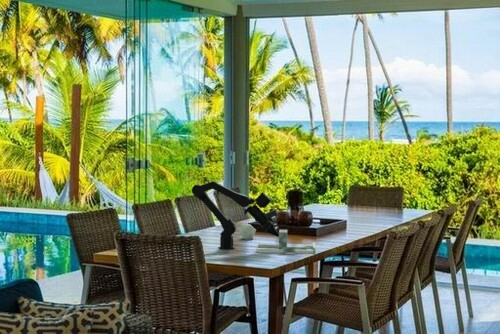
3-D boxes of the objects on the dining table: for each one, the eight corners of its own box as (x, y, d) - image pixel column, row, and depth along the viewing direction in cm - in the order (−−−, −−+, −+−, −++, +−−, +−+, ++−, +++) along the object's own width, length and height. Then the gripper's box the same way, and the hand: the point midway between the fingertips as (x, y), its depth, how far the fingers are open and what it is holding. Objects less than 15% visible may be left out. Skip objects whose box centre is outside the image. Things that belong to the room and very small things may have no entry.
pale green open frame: (255, 252, 446) (256, 246, 446) (258, 246, 464) (258, 241, 464) (315, 253, 444) (315, 247, 444) (315, 248, 462) (315, 242, 462)
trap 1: (282, 254, 439) (282, 254, 439) (283, 252, 445) (283, 252, 445) (294, 254, 438) (294, 254, 438) (295, 253, 444) (295, 252, 444)
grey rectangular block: (278, 251, 449) (279, 232, 449) (279, 248, 459) (279, 229, 459) (306, 252, 448) (306, 232, 448) (306, 249, 458) (306, 230, 458)
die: (250, 238, 499) (240, 224, 499) (261, 232, 494) (250, 217, 493) (244, 245, 492) (233, 231, 492) (254, 239, 487) (244, 224, 486)
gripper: (268, 205, 444) (289, 227, 444) (269, 202, 463) (290, 223, 462) (252, 220, 445) (273, 242, 445) (254, 216, 464) (275, 237, 463)
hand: (278, 236), depth 454 cm, fingers closed
